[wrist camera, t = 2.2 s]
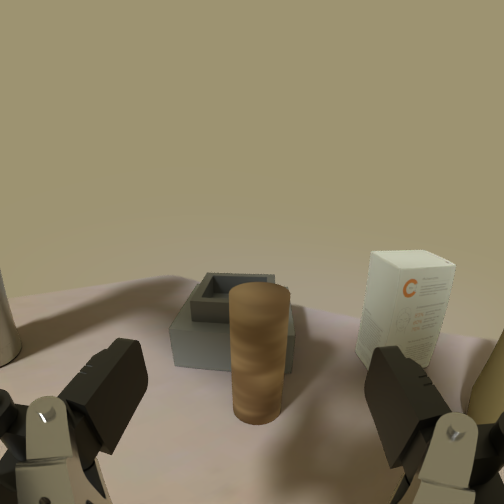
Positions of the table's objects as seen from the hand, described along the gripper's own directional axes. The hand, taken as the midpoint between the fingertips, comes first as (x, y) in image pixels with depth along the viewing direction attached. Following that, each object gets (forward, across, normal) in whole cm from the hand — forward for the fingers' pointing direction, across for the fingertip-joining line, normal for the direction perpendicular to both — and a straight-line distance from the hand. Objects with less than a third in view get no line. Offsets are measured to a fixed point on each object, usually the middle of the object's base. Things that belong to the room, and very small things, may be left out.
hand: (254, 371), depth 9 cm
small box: (+18, -16, +14) cm, 28 cm away
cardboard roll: (+12, 0, +14) cm, 18 cm away
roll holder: (+24, +3, +14) cm, 27 cm away
